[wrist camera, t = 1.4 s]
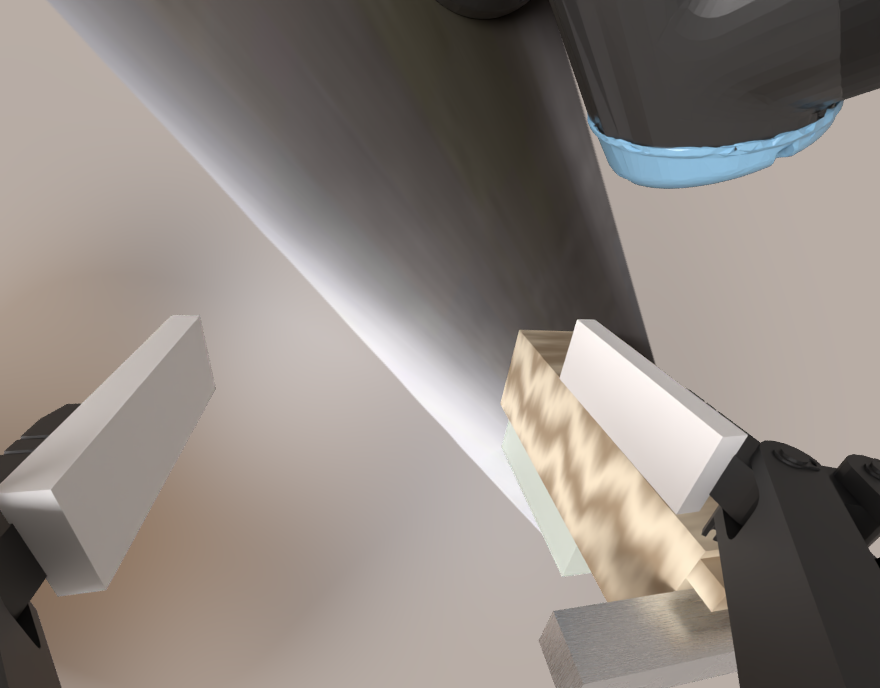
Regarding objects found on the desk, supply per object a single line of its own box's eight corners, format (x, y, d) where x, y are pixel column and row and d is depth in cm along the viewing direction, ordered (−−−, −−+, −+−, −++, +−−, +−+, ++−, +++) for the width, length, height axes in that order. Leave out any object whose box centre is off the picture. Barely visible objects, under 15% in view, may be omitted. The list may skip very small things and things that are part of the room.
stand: (519, 329, 48) (734, 585, 21) (599, 332, 51) (883, 560, 24) (500, 403, 54) (650, 682, 26) (574, 402, 57) (778, 652, 29)
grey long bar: (557, 601, 22) (589, 675, 19) (828, 559, 27) (887, 611, 24) (534, 648, 25) (559, 719, 22) (786, 600, 30) (835, 653, 27)
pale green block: (511, 411, 55) (581, 536, 38) (593, 409, 58) (693, 523, 41) (501, 447, 58) (562, 576, 41) (580, 443, 61) (667, 562, 44)
